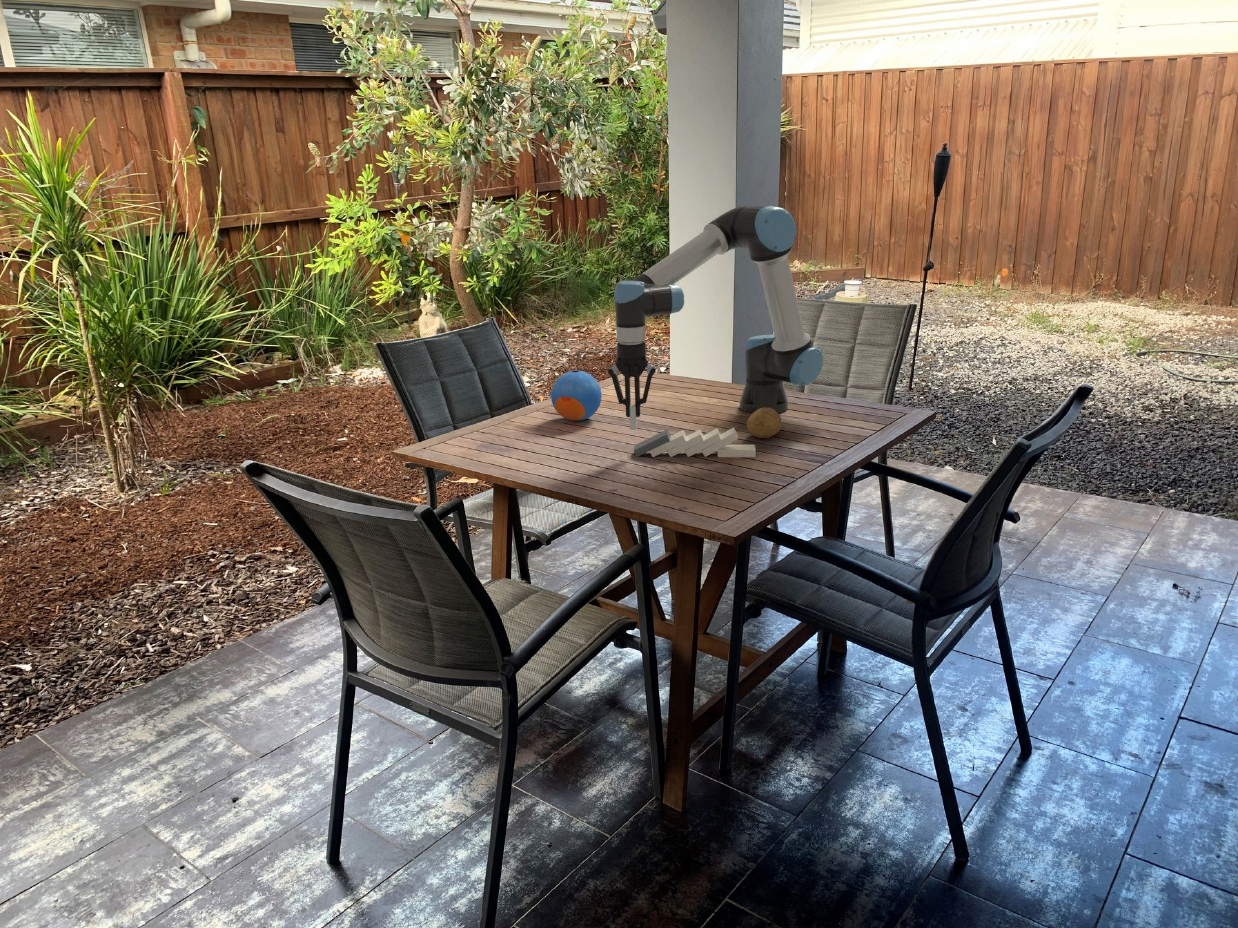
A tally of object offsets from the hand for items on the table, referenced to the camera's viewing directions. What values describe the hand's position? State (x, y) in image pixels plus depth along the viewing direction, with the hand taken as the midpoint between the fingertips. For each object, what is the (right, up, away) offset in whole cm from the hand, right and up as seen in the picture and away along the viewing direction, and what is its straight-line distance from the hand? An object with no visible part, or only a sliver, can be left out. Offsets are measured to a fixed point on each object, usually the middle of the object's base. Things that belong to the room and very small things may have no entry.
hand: (633, 428), depth 245 cm
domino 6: (+23, -6, 0) cm, 23 cm away
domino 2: (+5, -6, +2) cm, 8 cm away
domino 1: (+1, -6, +2) cm, 6 cm away
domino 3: (+10, -6, +1) cm, 12 cm away
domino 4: (+14, -6, +1) cm, 16 cm away
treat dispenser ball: (-17, +4, +37) cm, 41 cm away
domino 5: (+19, -6, 0) cm, 20 cm away
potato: (+37, -2, +14) cm, 40 cm away
